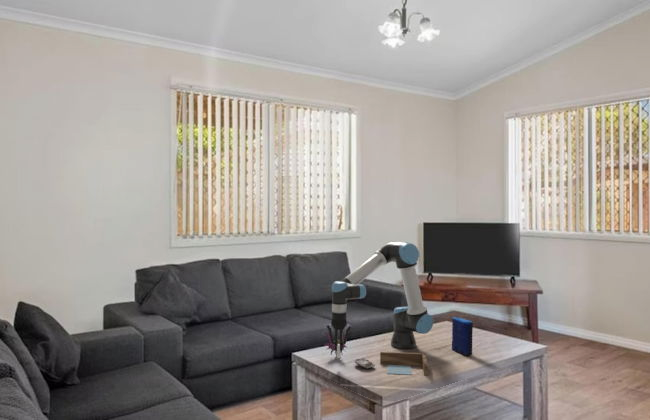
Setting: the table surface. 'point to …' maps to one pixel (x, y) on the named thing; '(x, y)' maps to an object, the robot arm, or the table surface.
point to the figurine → (334, 345)
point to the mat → (399, 369)
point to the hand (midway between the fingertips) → (338, 357)
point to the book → (462, 336)
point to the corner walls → (404, 359)
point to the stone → (364, 363)
